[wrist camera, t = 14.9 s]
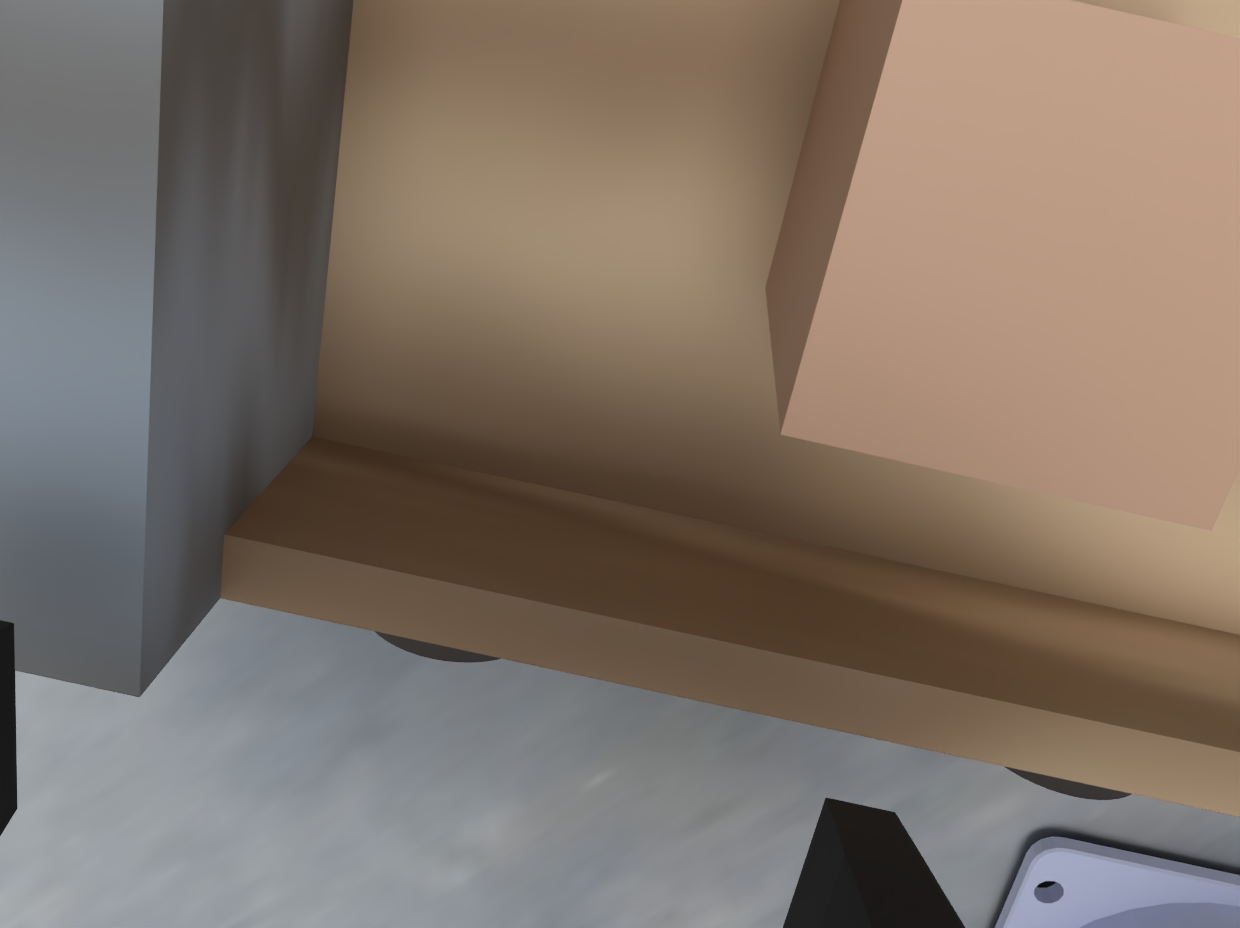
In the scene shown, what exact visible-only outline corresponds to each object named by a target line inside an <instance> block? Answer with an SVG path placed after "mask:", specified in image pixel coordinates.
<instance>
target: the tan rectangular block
mask: <svg viewBox="0 0 1240 928" xmlns="http://www.w3.org/2000/svg"><path fill="white" fill-rule="evenodd" d="M765 290H766V300H767V309H768V319H769V329H770V338H771V348H772V358H773V367H774V377H775V387H776V396H777V406H778V416H779V426H780V435H785V436H789V437H794V438H798V439H803V440H807V441H812V442H816V443H821V444H825V445H829V446H834V447H838V448H843V449H847V450H852V451H856V452H861V453H865V454H870V455H874V456H879V457H883V458H888V459H892V460H896V461H901V462H905V463H910V464H914V465H919V466H923V467H928V468H932V469H937V470H941V471H946V472H950V473H954V474H959V475H963V476H968V477H972V478H977V479H981V480H986V481H990V482H995V483H999V484H1004V485H1008V486H1013V487H1017V488H1021V489H1026V490H1030V491H1035V492H1039V493H1044V494H1048V495H1053V496H1057V497H1062V498H1066V499H1071V500H1075V501H1079V502H1084V503H1088V504H1093V505H1097V506H1102V507H1106V508H1111V509H1115V510H1120V511H1124V512H1129V513H1133V514H1138V515H1142V516H1146V517H1151V518H1155V519H1160V520H1164V521H1169V522H1173V523H1178V524H1182V525H1187V526H1191V527H1196V528H1200V529H1204V530H1209V531H1212V529H1213V527H1214V524H1215V522H1216V520H1217V518H1218V516H1219V513H1220V511H1221V509H1222V507H1223V505H1224V503H1225V500H1226V498H1227V496H1228V494H1229V492H1230V489H1231V487H1232V485H1233V483H1234V481H1235V478H1236V476H1237V474H1238V472H1239V470H1240V38H1238V37H1233V36H1229V35H1224V34H1220V33H1215V32H1211V31H1206V30H1202V29H1197V28H1193V27H1188V26H1184V25H1179V24H1175V23H1171V22H1166V21H1162V20H1157V19H1153V18H1148V17H1144V16H1139V15H1135V14H1130V13H1126V12H1121V11H1117V10H1112V9H1108V8H1103V7H1099V6H1095V5H1090V4H1086V3H1081V2H1077V1H1072V0H840V3H839V7H838V11H837V15H836V19H835V22H834V26H833V30H832V34H831V38H830V42H829V45H828V49H827V53H826V57H825V61H824V65H823V68H822V72H821V76H820V80H819V84H818V88H817V91H816V95H815V99H814V103H813V107H812V110H811V114H810V118H809V122H808V126H807V130H806V133H805V137H804V141H803V145H802V149H801V153H800V156H799V160H798V164H797V168H796V172H795V176H794V179H793V183H792V187H791V191H790V195H789V199H788V202H787V206H786V210H785V214H784V218H783V222H782V225H781V229H780V233H779V237H778V241H777V245H776V248H775V252H774V256H773V260H772V264H771V268H770V271H769V275H768V279H767V283H766V287H765Z"/></svg>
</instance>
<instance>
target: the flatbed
mask: <svg viewBox="0 0 1240 928" xmlns="http://www.w3.org/2000/svg"><path fill="white" fill-rule="evenodd" d="M1072 1H1077V2H1081V3H1086V4H1090V5H1095V6H1099V7H1103V8H1108V9H1112V10H1117V11H1121V12H1126V13H1130V14H1135V15H1139V16H1144V17H1148V18H1153V19H1157V20H1162V21H1166V22H1171V23H1175V24H1179V25H1184V26H1188V27H1193V28H1197V29H1202V30H1206V31H1211V32H1215V33H1220V34H1224V35H1229V36H1233V37H1238V38H1240V0H1072ZM839 3H840V0H0V620H2V621H7V622H11V623H14V647H15V670H16V671H20V672H25V673H30V674H34V675H39V676H44V677H48V678H53V679H57V680H62V681H67V682H71V683H76V684H81V685H85V686H90V687H95V688H99V689H104V690H109V691H113V692H118V693H123V694H127V695H132V696H136V697H140V696H141V695H142V694H143V692H144V691H145V690H146V689H147V687H148V686H149V685H150V684H151V682H152V681H153V680H154V679H155V678H156V676H157V675H158V674H159V673H160V671H161V670H162V669H163V668H164V666H165V665H166V664H167V663H168V662H169V660H170V659H171V658H172V657H173V655H174V654H175V653H176V652H177V650H178V649H179V648H180V647H181V646H182V644H183V643H184V642H185V641H186V639H187V638H188V637H189V636H190V634H191V633H192V632H193V631H194V630H195V628H196V627H197V626H198V625H199V623H200V622H201V621H202V620H203V618H204V617H205V616H206V615H207V614H208V612H209V611H210V610H211V609H212V607H213V606H214V605H215V604H216V602H217V601H218V600H219V599H220V598H223V599H227V600H232V601H237V602H241V603H246V604H251V605H255V606H260V607H265V608H269V609H274V610H279V611H283V612H288V613H293V614H297V615H302V616H306V617H311V618H316V619H320V620H325V621H330V622H334V623H339V624H344V625H348V626H353V627H358V628H362V629H367V630H372V631H375V632H376V633H377V634H378V635H379V636H381V637H382V638H383V639H385V640H386V641H388V642H390V643H391V644H393V645H395V646H397V647H399V648H401V649H403V650H406V651H408V652H411V653H414V654H417V655H420V656H424V657H428V658H432V659H437V660H443V661H452V662H484V661H491V660H497V659H501V658H502V659H507V660H511V661H516V662H521V663H525V664H530V665H535V666H539V667H544V668H549V669H553V670H558V671H563V672H567V673H572V674H577V675H581V676H586V677H591V678H595V679H600V680H605V681H609V682H614V683H618V684H623V685H628V686H632V687H637V688H642V689H646V690H651V691H656V692H660V693H665V694H670V695H674V696H679V697H684V698H688V699H693V700H698V701H702V702H707V703H712V704H716V705H721V706H726V707H730V708H735V709H740V710H744V711H749V712H754V713H758V714H763V715H768V716H772V717H777V718H781V719H786V720H791V721H795V722H800V723H805V724H809V725H814V726H819V727H823V728H828V729H833V730H837V731H842V732H847V733H851V734H856V735H861V736H865V737H870V738H875V739H879V740H884V741H889V742H893V743H898V744H903V745H907V746H912V747H917V748H921V749H926V750H931V751H935V752H940V753H944V754H949V755H954V756H958V757H963V758H968V759H972V760H977V761H982V762H986V763H991V764H996V765H1000V766H1004V767H1006V768H1007V769H1009V770H1010V771H1012V772H1014V773H1016V774H1017V775H1019V776H1021V777H1023V778H1025V779H1027V780H1029V781H1031V782H1033V783H1035V784H1038V785H1040V786H1043V787H1045V788H1047V789H1050V790H1053V791H1056V792H1059V793H1062V794H1066V795H1070V796H1074V797H1080V798H1086V799H1095V800H1111V799H1119V798H1123V797H1126V796H1129V795H1131V794H1135V795H1140V796H1145V797H1149V798H1154V799H1159V800H1163V801H1168V802H1173V803H1177V804H1182V805H1187V806H1191V807H1196V808H1201V809H1205V810H1210V811H1215V812H1219V813H1224V814H1229V815H1233V816H1238V817H1240V470H1239V472H1238V474H1237V476H1236V478H1235V481H1234V483H1233V485H1232V487H1231V489H1230V492H1229V494H1228V496H1227V498H1226V500H1225V503H1224V505H1223V507H1222V509H1221V511H1220V513H1219V516H1218V518H1217V520H1216V522H1215V524H1214V527H1213V529H1212V531H1209V530H1204V529H1200V528H1196V527H1191V526H1187V525H1182V524H1178V523H1173V522H1169V521H1164V520H1160V519H1155V518H1151V517H1146V516H1142V515H1138V514H1133V513H1129V512H1124V511H1120V510H1115V509H1111V508H1106V507H1102V506H1097V505H1093V504H1088V503H1084V502H1079V501H1075V500H1071V499H1066V498H1062V497H1057V496H1053V495H1048V494H1044V493H1039V492H1035V491H1030V490H1026V489H1021V488H1017V487H1013V486H1008V485H1004V484H999V483H995V482H990V481H986V480H981V479H977V478H972V477H968V476H963V475H959V474H954V473H950V472H946V471H941V470H937V469H932V468H928V467H923V466H919V465H914V464H910V463H905V462H901V461H896V460H892V459H888V458H883V457H879V456H874V455H870V454H865V453H861V452H856V451H852V450H847V449H843V448H838V447H834V446H829V445H825V444H821V443H816V442H812V441H807V440H803V439H798V438H794V437H789V436H785V435H780V426H779V416H778V406H777V396H776V387H775V377H774V367H773V358H772V348H771V338H770V329H769V319H768V309H767V300H766V290H765V287H766V283H767V279H768V275H769V271H770V268H771V264H772V260H773V256H774V252H775V248H776V245H777V241H778V237H779V233H780V229H781V225H782V222H783V218H784V214H785V210H786V206H787V202H788V199H789V195H790V191H791V187H792V183H793V179H794V176H795V172H796V168H797V164H798V160H799V156H800V153H801V149H802V145H803V141H804V137H805V133H806V130H807V126H808V122H809V118H810V114H811V110H812V107H813V103H814V99H815V95H816V91H817V88H818V84H819V80H820V76H821V72H822V68H823V65H824V61H825V57H826V53H827V49H828V45H829V42H830V38H831V34H832V30H833V26H834V22H835V19H836V15H837V11H838V7H839Z"/></svg>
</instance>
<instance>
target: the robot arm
mask: <svg viewBox="0 0 1240 928" xmlns="http://www.w3.org/2000/svg"><path fill="white" fill-rule="evenodd" d="M16 810H17V767H16V707H15V647H14V623H11V622H7V621H2V620H0V835H1V834H2V832H3V831H4V829H5V827H6V826H7V824H8V823H9V821H10V819H11V818H12V816H13V814H14V813H15V811H16ZM1045 881H1055V884H1054V885H1052V886H1049V887H1047V888H1039V887H1037V886H1038V884H1040V883H1042V882H1045ZM783 928H965V926H964V925H963V923H962V922H961V920H960V918H959V917H958V915H957V913H956V912H955V910H954V909H953V907H952V905H951V904H950V902H949V900H948V899H947V897H946V895H945V894H944V892H943V890H942V889H941V887H940V885H939V884H938V882H937V880H936V879H935V877H934V875H933V874H932V872H931V870H930V869H929V867H928V865H927V864H926V862H925V861H924V859H923V857H922V856H921V854H920V852H919V851H918V849H917V847H916V846H915V844H914V842H913V841H912V839H911V837H910V836H909V834H908V833H907V831H906V829H905V828H904V826H903V825H902V823H901V821H900V820H899V818H898V816H897V815H896V813H895V812H891V811H886V810H881V809H877V808H872V807H867V806H863V805H858V804H853V803H849V802H844V801H839V800H835V799H830V798H826V799H825V802H824V805H823V808H822V811H821V814H820V817H819V820H818V823H817V826H816V829H815V832H814V835H813V838H812V841H811V844H810V847H809V850H808V853H807V856H806V859H805V862H804V865H803V868H802V872H801V875H800V878H799V881H798V884H797V887H796V890H795V893H794V896H793V899H792V902H791V905H790V908H789V911H788V914H787V917H786V920H785V923H784V926H783ZM995 928H1240V875H1236V874H1232V873H1227V872H1222V871H1218V870H1213V869H1208V868H1204V867H1199V866H1195V865H1190V864H1185V863H1181V862H1176V861H1171V860H1167V859H1162V858H1157V857H1153V856H1148V855H1143V854H1139V853H1134V852H1129V851H1125V850H1120V849H1115V848H1111V847H1106V846H1101V845H1097V844H1092V843H1088V842H1083V841H1078V840H1074V839H1069V838H1064V837H1048V838H1044V839H1040V840H1039V841H1037V842H1036V843H1034V844H1033V845H1032V846H1031V847H1030V849H1029V850H1028V851H1027V853H1026V855H1025V858H1024V860H1023V862H1022V865H1021V867H1020V869H1019V872H1018V874H1017V876H1016V879H1015V881H1014V883H1013V886H1012V888H1011V891H1010V893H1009V895H1008V898H1007V900H1006V902H1005V905H1004V907H1003V909H1002V912H1001V914H1000V916H999V919H998V921H997V923H996V926H995Z"/></svg>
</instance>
